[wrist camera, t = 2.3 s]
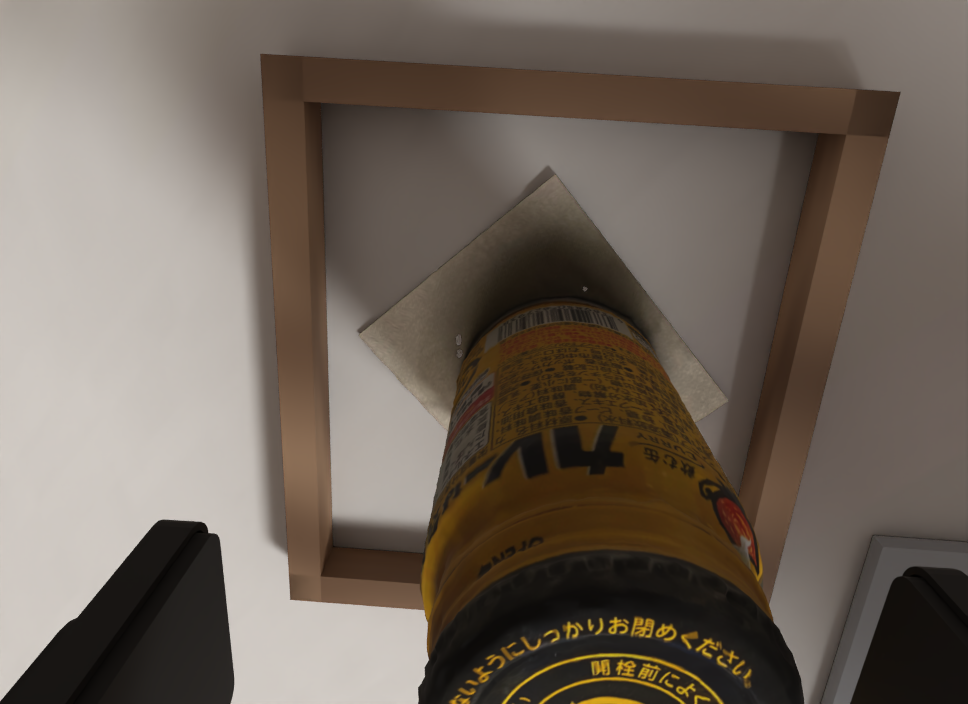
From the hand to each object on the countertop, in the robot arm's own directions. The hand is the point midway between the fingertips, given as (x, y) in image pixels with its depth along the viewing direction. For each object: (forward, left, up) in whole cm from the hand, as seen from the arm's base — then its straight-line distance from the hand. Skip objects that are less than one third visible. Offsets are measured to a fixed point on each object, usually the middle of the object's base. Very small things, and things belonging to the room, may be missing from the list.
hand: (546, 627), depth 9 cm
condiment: (0, 0, -11) cm, 11 cm away
